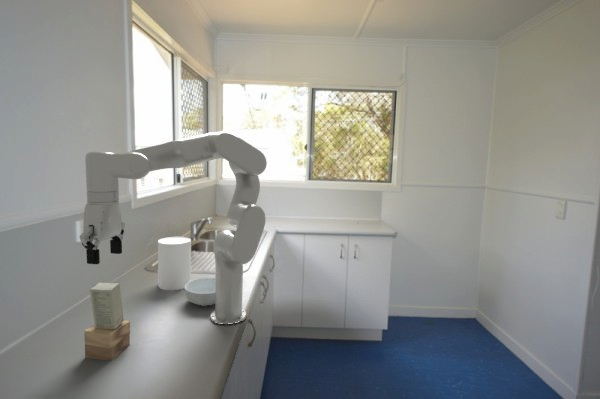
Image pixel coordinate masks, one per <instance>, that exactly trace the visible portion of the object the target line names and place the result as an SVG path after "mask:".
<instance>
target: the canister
mask: <svg viewBox="0 0 600 399" xmlns="http://www.w3.org/2000/svg"><path fill="white" fill-rule="evenodd" d="M157 276H158V277H157V286H158V289H161V290H163V291H179V290H184V287H185V285H186V284H187V283H188V282H190V281H192V277H191V276H192V238H189V237H186V236H169V237H167V236H166V237H162V238H159V239H158V240H157Z"/></svg>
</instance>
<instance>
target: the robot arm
mask: <svg viewBox="0 0 600 399" xmlns="http://www.w3.org/2000/svg"><path fill="white" fill-rule="evenodd" d="M218 159H225V160H226V161H227V162H228V165H229V168H230V169H231V171H232V173H233V174H234V178H235V183H236V184H235V189H234V192H233V194H232V197H231V201H230V204H229V206H228V209H227V213H226V220H227V222H228V224H230V225H231V226H232V227H233V228H234V227H235V228H236V230H232V229H223V230H222V231H220V232H219V233H217V234H216V236H215V237H214V240H213V254H214V262H215V264H214V265H215V275H214V276H215V277H214V278H215V304H214V310H212V311H211V313H210V315H209V316H210V318H211V319H210V321H212V322H213V321H214V322H217V323H223V324H228V323H235V322H238V321H242V322H243V321H244V320H245V319H246V318H247V311H246V310H245V309H244V308H243V287H244V286H243V283H244V281H243V280H244V278H243V277H244V266H243V265H246V264H249V263H250V262H251V261H252V259H253V258H254V257H255V255H256V253H257V251H258V248H259V247H258V246H259V245H260V241H261V238H262V236H263V232H264V229H265V226H266V214H265V211H264V210H263V208H262V207H261V206H260V205H258V204H257V203H258V199H259V195H260V190H261V184H260V178H259V175H261V174H263V173H264V171H265V170H266V168H267V159H266V156H265V154H264V153H263V152H262V151H261V150H259V149H258V148H257V147H255V146H253V145H252V144H250V143H248V142H247V141H246V140H244V139H242V138H241V137H240V136H237V135H236V134H234V133H232V132H229V131H215V132H207V133H203V134H200V135H194V136H190V137H186V138H180V139H176V140H172V141H168V142H165V143H160V144H156V145H151V146H146V147H141V148H139V149H134V150H133V149H132V150H129V151H124V152H122V153H114V152H112V151H111V152H109V151H90V152H87V153H86V154H85V159H84V160H85V182H86V183H85V184H86V185H85V186H86V204H85V207H84V212H83V224H82V225H83V226H82V229H83V230H82V231H83V232H82V233H81V234H80V235H79V240H80V242H81V245H82V246H83V247H84V250H85V251H86V263H87V264H88V265H99V264H100V262H101V261H100V259H101V258H100V249H99V248H98V247H99V245H100V243H101V242H103V241H106V240H108V239H110V240H109V244H110V245H109V246H110V247H109V248H110V254H112V255H113V254H117V255H120V254H122V253H123V242H122V240H123V239H124V236H123V235H124V233H125V227H126V223H125V222H123V221H122V214H121V206H120V196H119V195H120V194H119V192H120V190H119V178H120V179H127V180H128V179H129V180H139V179H143V178H145V177H147V175H148V174H149V173H150V172H155V171H159V170H160V171H161V170H164V169H165V170H166V169H181V168H187V167H191V166H194V165H198V164H201V163H205V162H210V161H214V160H218ZM93 242H94V243H93ZM214 322H213V323H214Z"/></svg>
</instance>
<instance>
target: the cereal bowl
mask: <svg viewBox="0 0 600 399" xmlns="http://www.w3.org/2000/svg"><path fill="white" fill-rule="evenodd" d="M183 290H184V296H185V299H187V300H188V301H189V302H190V303H192V304H195V305H197V306H200V305H201V306H200V307H207V306H206V305H210V306H212V305H211V304H213V305H215V277H203V278H202V277H201V278H196V279H191V281H190V282H188V283H187V284H186V285H185V287H184V288H183Z"/></svg>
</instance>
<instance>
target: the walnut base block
mask: <svg viewBox="0 0 600 399" xmlns="http://www.w3.org/2000/svg"><path fill="white" fill-rule="evenodd" d="M130 334H131V333H130ZM130 334H129V335H128V336H127V337H125V338H124V339H122V340H121V341H120V342H118V343H117V344H116V345H114V346H113V347H112V348H104V347H98V346H92V345H86V344H85V343H84V358H85V359H94V360H102V361H110V362H111V361H114V360H115V359H116V358H117V357H118V356H120V354H121V353H122V352H124V351H125V350H126V349H127V348H128V347H129V346H130V345H131V341H130V340H131V338H130Z"/></svg>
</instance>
